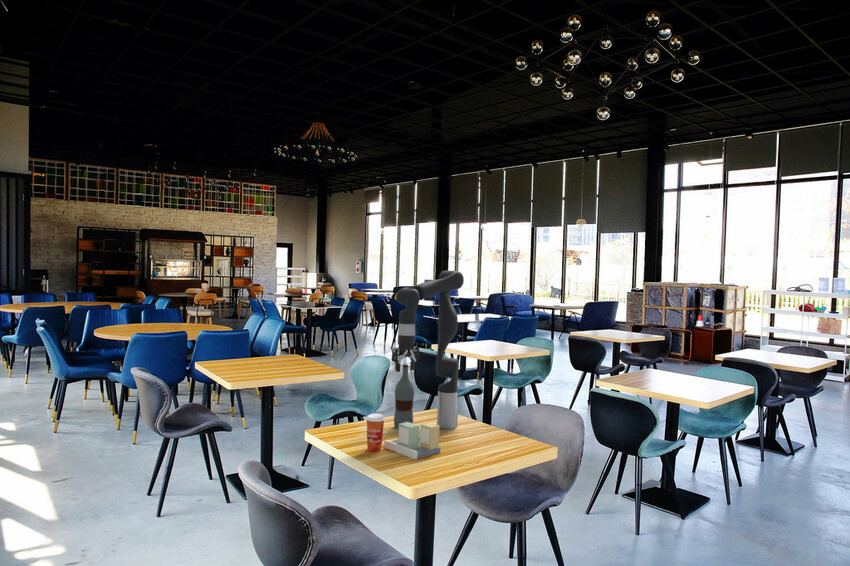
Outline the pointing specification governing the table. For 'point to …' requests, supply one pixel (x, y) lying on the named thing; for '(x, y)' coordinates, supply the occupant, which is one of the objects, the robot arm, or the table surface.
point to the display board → (410, 450)
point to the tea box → (408, 435)
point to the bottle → (403, 399)
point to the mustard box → (429, 436)
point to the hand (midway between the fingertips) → (405, 370)
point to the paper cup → (374, 432)
